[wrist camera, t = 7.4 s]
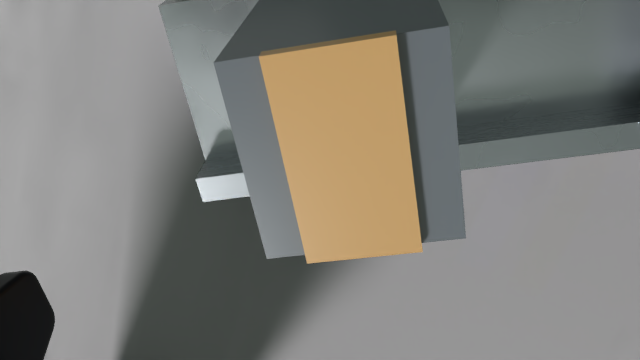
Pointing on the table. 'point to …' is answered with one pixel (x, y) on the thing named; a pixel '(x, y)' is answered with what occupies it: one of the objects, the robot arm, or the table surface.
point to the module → (345, 126)
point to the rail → (462, 80)
